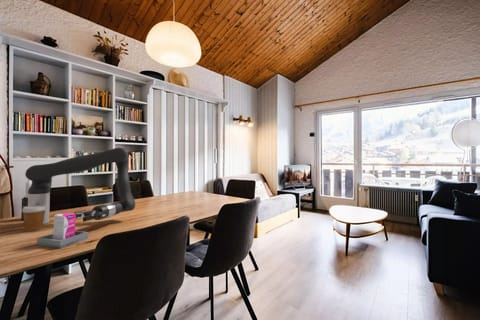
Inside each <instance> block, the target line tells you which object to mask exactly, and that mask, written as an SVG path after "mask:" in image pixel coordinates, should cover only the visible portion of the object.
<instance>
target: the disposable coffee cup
mask: <svg viewBox="0 0 480 320" xmlns="http://www.w3.org/2000/svg"><path fill="white" fill-rule="evenodd" d="M45 210H46V207H45V205H33V206H26V207H23V210H22V209H21V212H23V216H24V220H23V222H24V229H25V232H28V233H29V232H31V233H32V232H37V231H40V230H42V229H43V225H44V224H43V220H44V214H45Z"/></svg>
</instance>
